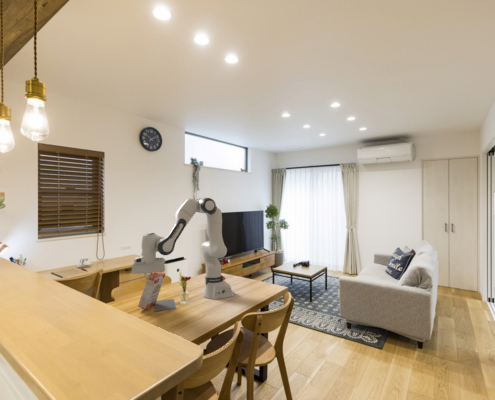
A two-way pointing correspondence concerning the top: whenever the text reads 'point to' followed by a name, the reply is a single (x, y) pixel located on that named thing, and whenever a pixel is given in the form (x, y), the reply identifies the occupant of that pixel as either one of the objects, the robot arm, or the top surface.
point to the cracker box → (151, 290)
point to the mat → (164, 305)
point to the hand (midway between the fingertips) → (148, 279)
